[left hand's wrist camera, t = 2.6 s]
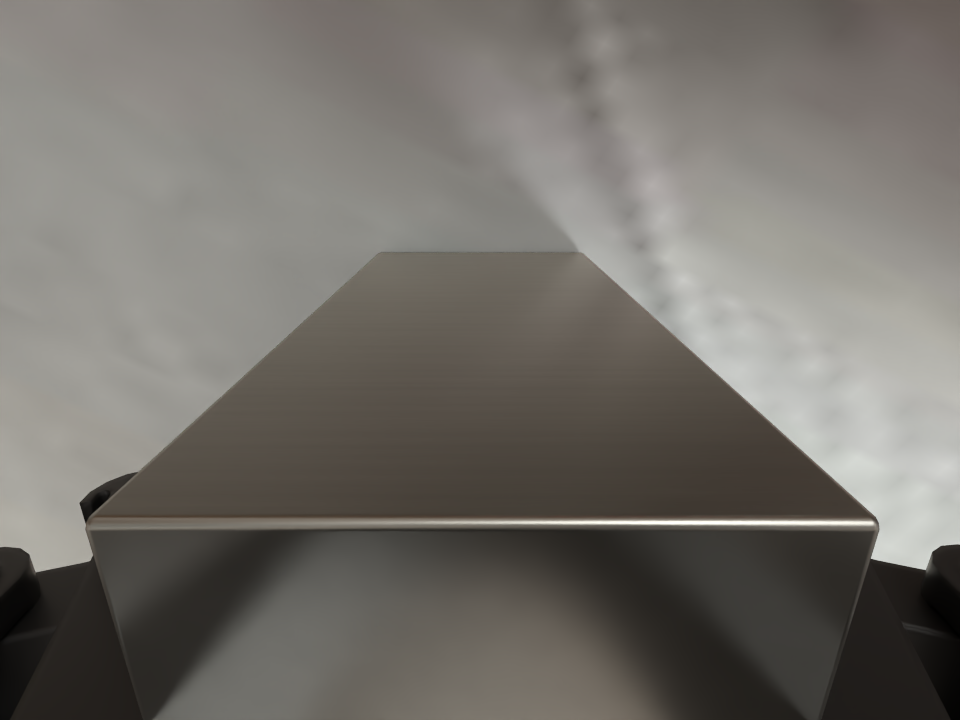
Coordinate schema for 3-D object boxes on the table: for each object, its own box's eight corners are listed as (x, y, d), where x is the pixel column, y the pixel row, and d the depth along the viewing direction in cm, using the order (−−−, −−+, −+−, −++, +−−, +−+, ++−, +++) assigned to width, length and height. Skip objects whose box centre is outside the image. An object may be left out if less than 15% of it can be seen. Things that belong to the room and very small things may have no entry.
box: (378, 251, 16) (76, 521, 4) (583, 252, 16) (888, 521, 4) (409, 733, 23) (332, 1353, 11) (552, 733, 23) (630, 1354, 11)
